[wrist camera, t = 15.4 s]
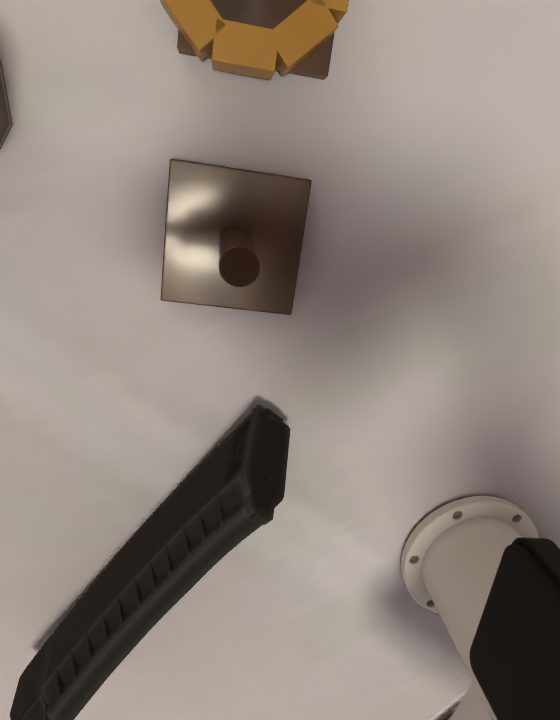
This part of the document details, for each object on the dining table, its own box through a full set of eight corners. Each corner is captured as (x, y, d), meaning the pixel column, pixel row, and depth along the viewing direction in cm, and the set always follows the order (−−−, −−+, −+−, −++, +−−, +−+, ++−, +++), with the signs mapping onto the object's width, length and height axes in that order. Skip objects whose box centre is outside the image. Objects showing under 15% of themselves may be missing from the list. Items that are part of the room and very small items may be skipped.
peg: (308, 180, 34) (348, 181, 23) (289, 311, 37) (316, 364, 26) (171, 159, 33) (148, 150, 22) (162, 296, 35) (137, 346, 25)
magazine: (294, 427, 30) (-41, 885, 27) (334, 457, 31) (15, 902, 28) (233, 382, 46) (20, 665, 43) (260, 403, 47) (54, 681, 44)
